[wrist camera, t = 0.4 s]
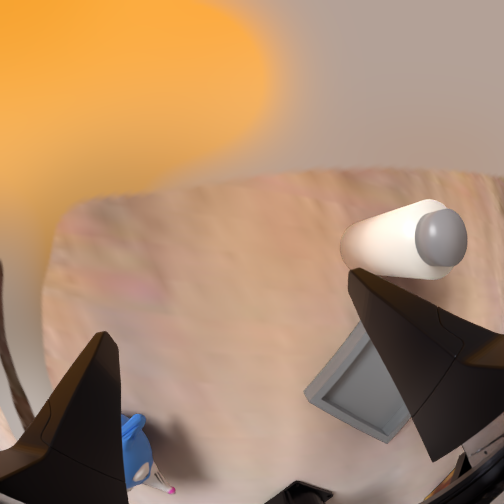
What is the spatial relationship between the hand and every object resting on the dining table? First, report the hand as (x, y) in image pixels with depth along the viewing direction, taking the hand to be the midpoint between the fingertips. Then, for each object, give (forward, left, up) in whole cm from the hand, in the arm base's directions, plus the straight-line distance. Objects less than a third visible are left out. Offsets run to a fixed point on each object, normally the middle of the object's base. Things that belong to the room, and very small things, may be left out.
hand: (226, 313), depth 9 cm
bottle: (-8, -10, -15) cm, 19 cm away
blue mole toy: (-2, +20, -15) cm, 25 cm away
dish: (-18, -2, -14) cm, 23 cm away
